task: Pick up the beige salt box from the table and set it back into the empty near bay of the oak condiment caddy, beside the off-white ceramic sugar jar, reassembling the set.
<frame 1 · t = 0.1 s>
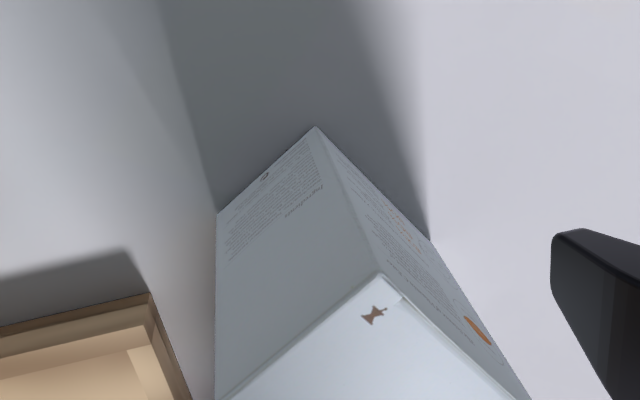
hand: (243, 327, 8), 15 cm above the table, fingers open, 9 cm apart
small box: (328, 226, 25), on the table
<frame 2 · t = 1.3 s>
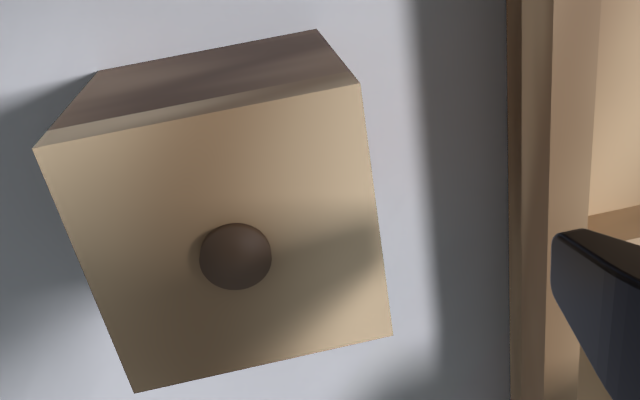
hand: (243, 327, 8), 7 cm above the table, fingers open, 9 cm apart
beige salt box: (233, 149, 14), on the table
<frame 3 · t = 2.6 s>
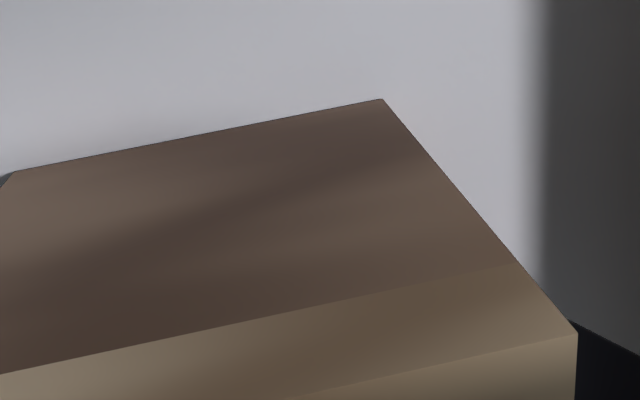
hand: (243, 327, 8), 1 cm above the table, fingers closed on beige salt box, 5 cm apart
beige salt box: (241, 285, 9), on the table, touching gripper
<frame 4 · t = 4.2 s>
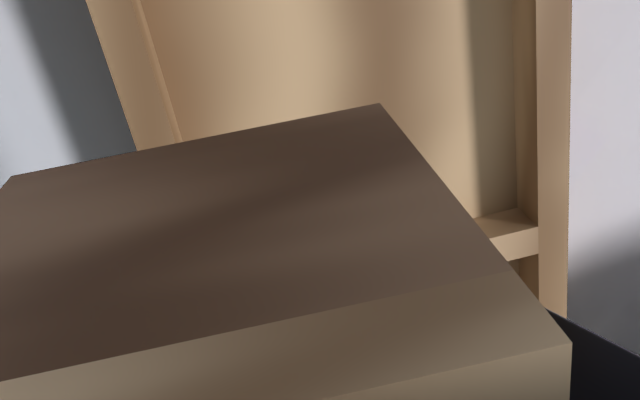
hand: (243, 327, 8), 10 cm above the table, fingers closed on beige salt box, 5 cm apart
beige salt box: (239, 289, 9), point 9 cm above the table, touching gripper
caddy: (369, 243, 20), on the table
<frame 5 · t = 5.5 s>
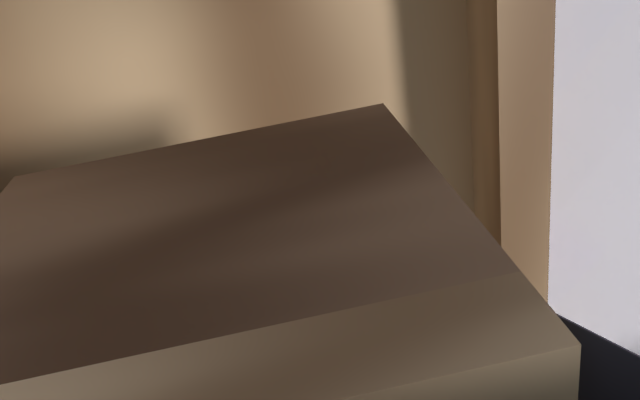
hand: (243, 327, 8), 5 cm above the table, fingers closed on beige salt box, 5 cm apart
beige salt box: (242, 289, 9), point 4 cm above the table, touching gripper
caddy: (284, 379, 15), on the table
when the fingers open (3 cm above the table, at t = 6.3 s): beige salt box drops 1 cm, resting on caddy.
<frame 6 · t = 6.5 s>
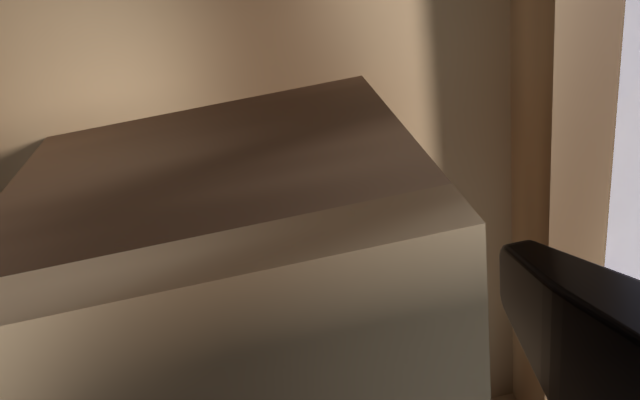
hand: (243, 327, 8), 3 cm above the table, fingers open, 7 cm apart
beige salt box: (241, 240, 10), point 1 cm above the table, touching caddy
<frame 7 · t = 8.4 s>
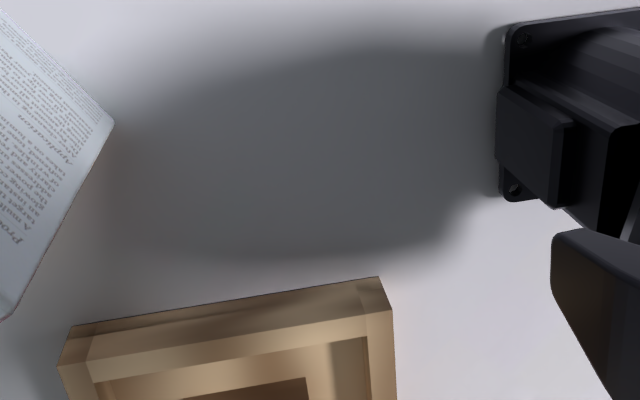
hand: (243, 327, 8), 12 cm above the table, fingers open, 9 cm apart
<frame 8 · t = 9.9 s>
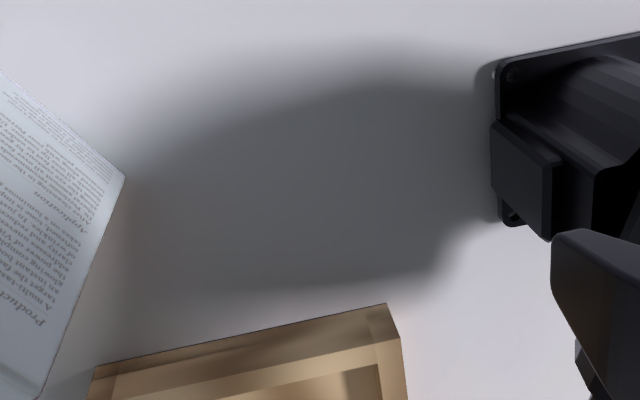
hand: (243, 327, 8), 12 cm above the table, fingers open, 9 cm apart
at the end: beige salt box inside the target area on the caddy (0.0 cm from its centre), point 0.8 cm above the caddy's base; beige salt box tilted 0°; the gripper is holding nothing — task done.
